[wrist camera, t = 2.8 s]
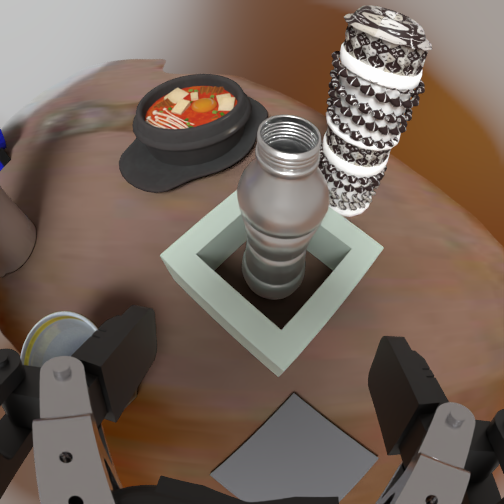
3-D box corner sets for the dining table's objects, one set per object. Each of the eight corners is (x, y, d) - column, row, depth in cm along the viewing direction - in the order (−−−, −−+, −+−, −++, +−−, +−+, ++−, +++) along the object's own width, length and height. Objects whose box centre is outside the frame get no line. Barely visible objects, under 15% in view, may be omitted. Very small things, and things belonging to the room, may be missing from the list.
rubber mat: (298, 537, 20) (298, 538, 19) (210, 473, 24) (209, 474, 23) (377, 457, 24) (378, 458, 23) (293, 393, 28) (293, 393, 27)
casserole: (172, 226, 37) (155, 183, 30) (102, 164, 43) (83, 125, 35) (294, 128, 46) (299, 85, 38) (213, 90, 51) (210, 52, 44)
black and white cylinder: (355, 232, 36) (434, 47, 14) (294, 193, 39) (321, 3, 17) (383, 190, 40) (449, 32, 17) (329, 157, 42) (363, -4, 20)
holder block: (278, 377, 29) (283, 371, 23) (174, 280, 34) (159, 255, 28) (365, 272, 34) (383, 247, 28) (266, 197, 39) (267, 165, 33)
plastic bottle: (279, 241, 36) (298, 91, 18) (313, 287, 33) (370, 152, 15) (231, 266, 34) (210, 120, 17) (263, 317, 32) (274, 195, 14)
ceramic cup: (76, 336, 30) (25, 308, 21) (154, 339, 30) (116, 311, 22) (75, 444, 24) (19, 448, 15) (156, 457, 24) (116, 476, 15)
